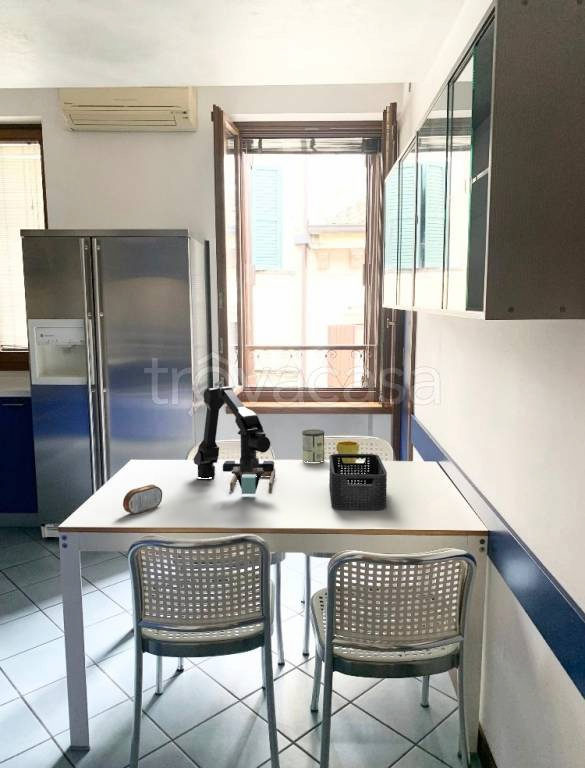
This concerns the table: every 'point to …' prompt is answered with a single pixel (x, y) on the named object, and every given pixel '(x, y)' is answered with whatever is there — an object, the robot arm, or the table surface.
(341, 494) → the storage bin
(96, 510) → the table surface
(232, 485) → the wooden u-shaped frame
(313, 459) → the coffee can
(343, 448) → the plant pot
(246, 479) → the teal block
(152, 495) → the tin
